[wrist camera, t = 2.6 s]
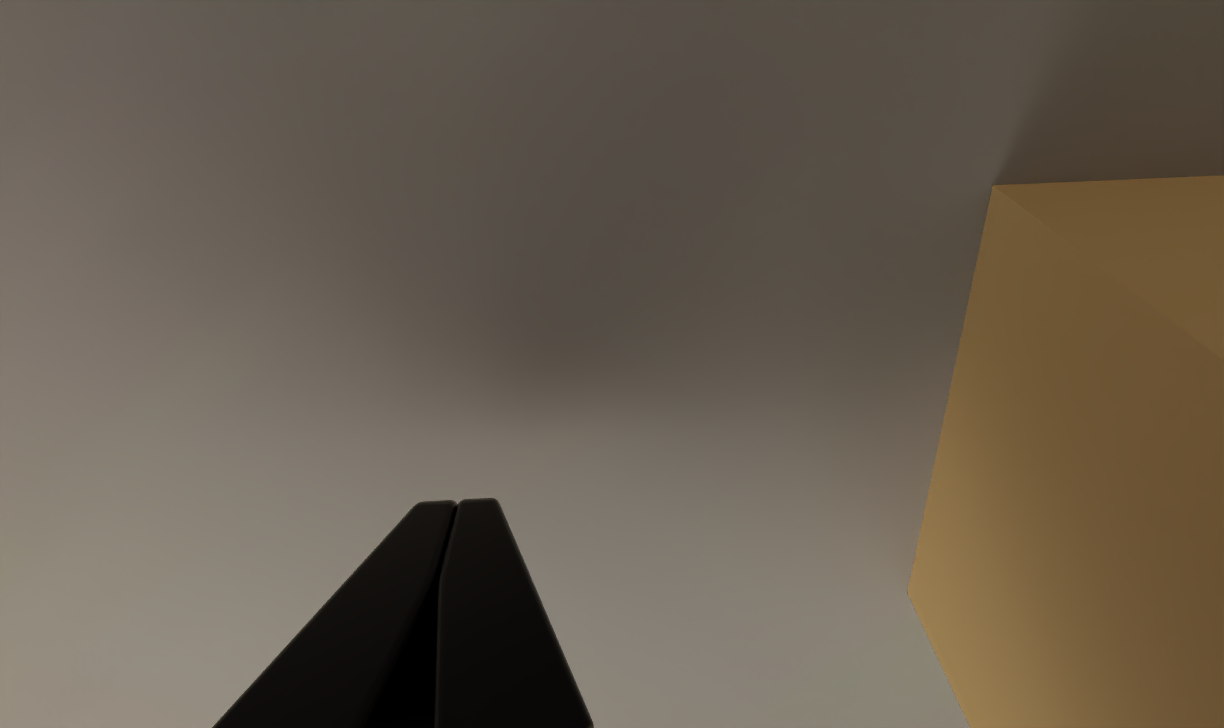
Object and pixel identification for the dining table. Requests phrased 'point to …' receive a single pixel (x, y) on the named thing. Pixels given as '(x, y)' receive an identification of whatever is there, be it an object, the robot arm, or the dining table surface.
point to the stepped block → (1084, 463)
